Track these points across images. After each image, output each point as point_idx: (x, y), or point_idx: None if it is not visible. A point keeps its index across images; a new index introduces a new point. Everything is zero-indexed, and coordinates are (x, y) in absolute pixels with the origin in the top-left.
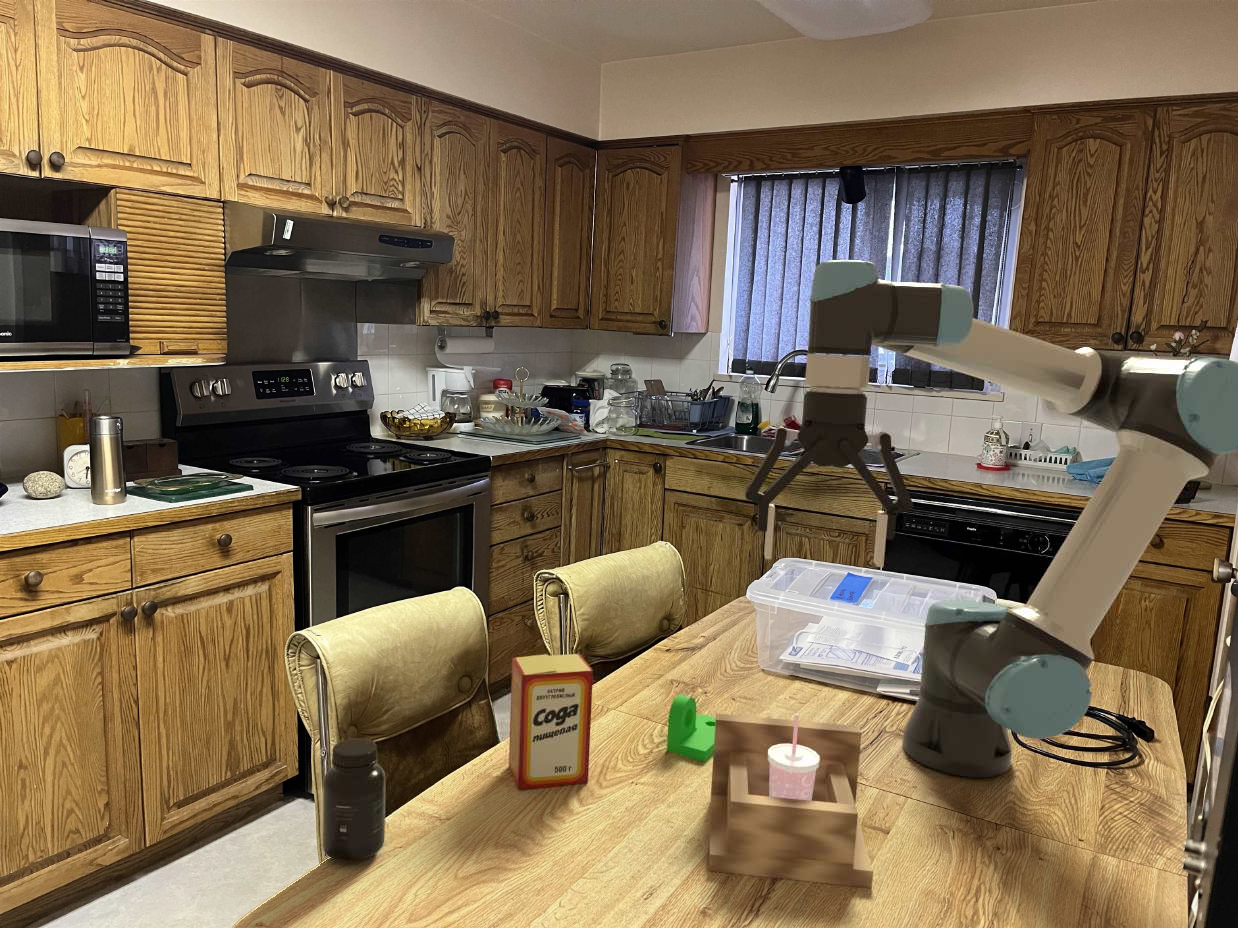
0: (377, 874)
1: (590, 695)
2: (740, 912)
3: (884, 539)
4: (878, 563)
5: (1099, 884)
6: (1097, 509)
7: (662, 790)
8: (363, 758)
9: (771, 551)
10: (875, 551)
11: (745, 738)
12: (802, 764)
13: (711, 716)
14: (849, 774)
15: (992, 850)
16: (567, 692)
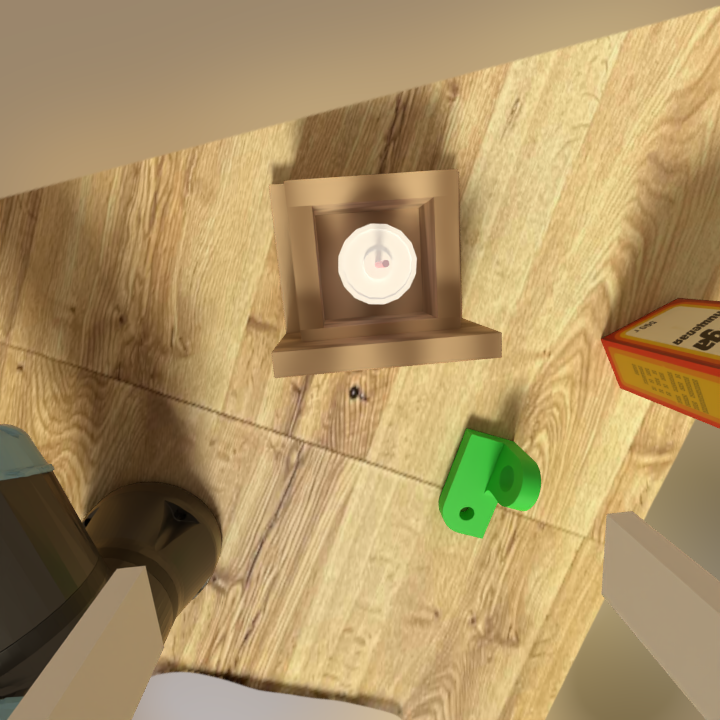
0: None
1: (698, 362)
2: (415, 99)
3: (26, 702)
4: (132, 578)
5: (10, 268)
6: None
7: (513, 344)
8: None
9: (634, 536)
10: (132, 675)
11: (446, 332)
12: (364, 236)
13: (467, 534)
14: (292, 339)
15: (128, 312)
16: None
